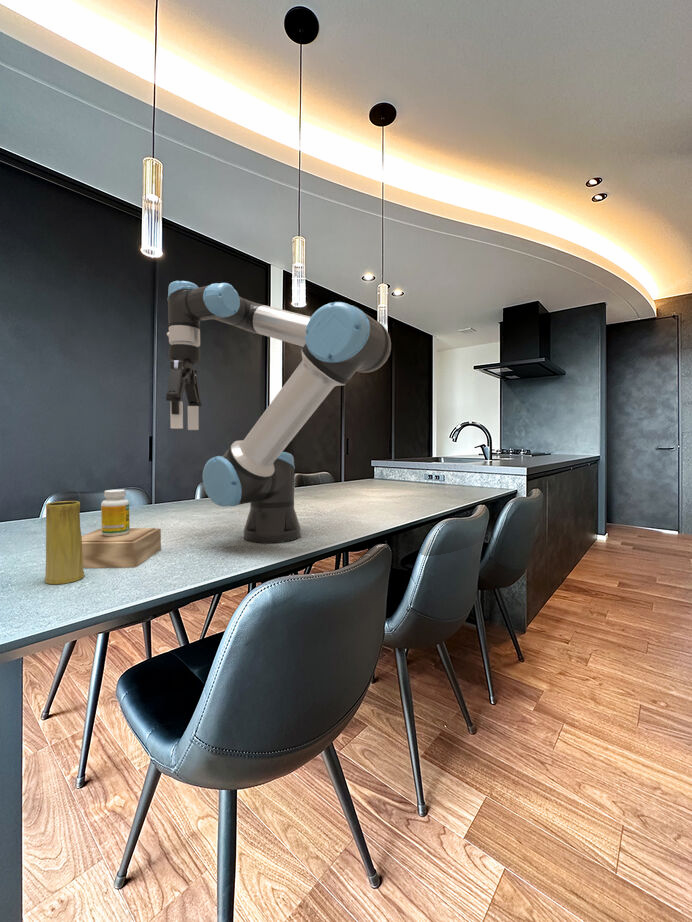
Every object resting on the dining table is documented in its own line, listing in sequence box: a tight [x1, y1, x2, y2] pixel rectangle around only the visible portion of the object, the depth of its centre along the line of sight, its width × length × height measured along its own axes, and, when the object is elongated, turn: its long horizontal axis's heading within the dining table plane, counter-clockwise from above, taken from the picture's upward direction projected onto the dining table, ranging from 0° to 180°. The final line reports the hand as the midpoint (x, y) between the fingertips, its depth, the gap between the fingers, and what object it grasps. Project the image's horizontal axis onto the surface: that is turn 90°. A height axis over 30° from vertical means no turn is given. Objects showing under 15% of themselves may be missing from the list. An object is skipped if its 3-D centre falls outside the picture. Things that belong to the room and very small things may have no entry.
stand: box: [81, 527, 162, 569], centre depth 91 cm, size 14×14×5 cm
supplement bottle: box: [100, 488, 131, 536], centre depth 91 cm, size 5×5×10 cm
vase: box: [44, 500, 85, 585], centre depth 77 cm, size 6×6×14 cm
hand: (185, 429), depth 107 cm, fingers open, 13 cm apart
